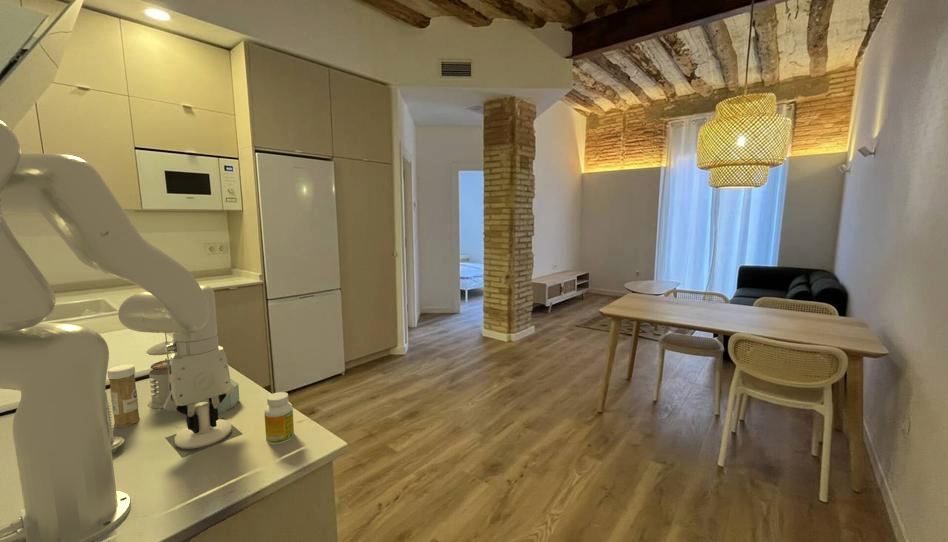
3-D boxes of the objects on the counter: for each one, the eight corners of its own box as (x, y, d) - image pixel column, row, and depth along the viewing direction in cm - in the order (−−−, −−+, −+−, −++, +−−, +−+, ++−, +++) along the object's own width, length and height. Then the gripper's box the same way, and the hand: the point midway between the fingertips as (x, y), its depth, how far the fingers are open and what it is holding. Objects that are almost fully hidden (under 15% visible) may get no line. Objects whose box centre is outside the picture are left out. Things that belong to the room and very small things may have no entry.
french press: (191, 387, 108) (183, 299, 105) (200, 401, 100) (192, 306, 97) (145, 399, 101) (135, 304, 98) (150, 415, 93) (140, 312, 90)
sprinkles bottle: (138, 425, 89) (132, 368, 87) (111, 431, 86) (104, 372, 84) (141, 416, 93) (135, 362, 91) (116, 422, 90) (109, 366, 88)
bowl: (193, 423, 90) (191, 402, 89) (178, 408, 96) (176, 389, 96) (245, 405, 98) (243, 387, 98) (227, 393, 105) (226, 375, 104)
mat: (182, 459, 77) (182, 457, 76) (165, 439, 83) (165, 437, 83) (243, 435, 85) (242, 433, 85) (223, 419, 92) (223, 417, 92)
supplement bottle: (290, 444, 82) (287, 400, 81) (262, 447, 81) (259, 402, 80) (296, 431, 87) (294, 389, 86) (270, 433, 86) (268, 391, 85)
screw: (128, 444, 81) (121, 456, 77) (97, 450, 79) (88, 463, 75) (121, 384, 80) (113, 394, 75) (90, 389, 77) (79, 399, 73)
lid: (183, 454, 77) (180, 421, 76) (168, 437, 83) (165, 406, 82) (239, 433, 85) (236, 403, 84) (221, 418, 91) (219, 390, 90)
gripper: (152, 359, 73) (162, 451, 75) (246, 339, 85) (251, 418, 88) (142, 351, 77) (151, 438, 80) (232, 333, 90) (237, 408, 92)
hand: (203, 427), depth 84 cm, fingers closed on lid, 2 cm apart
